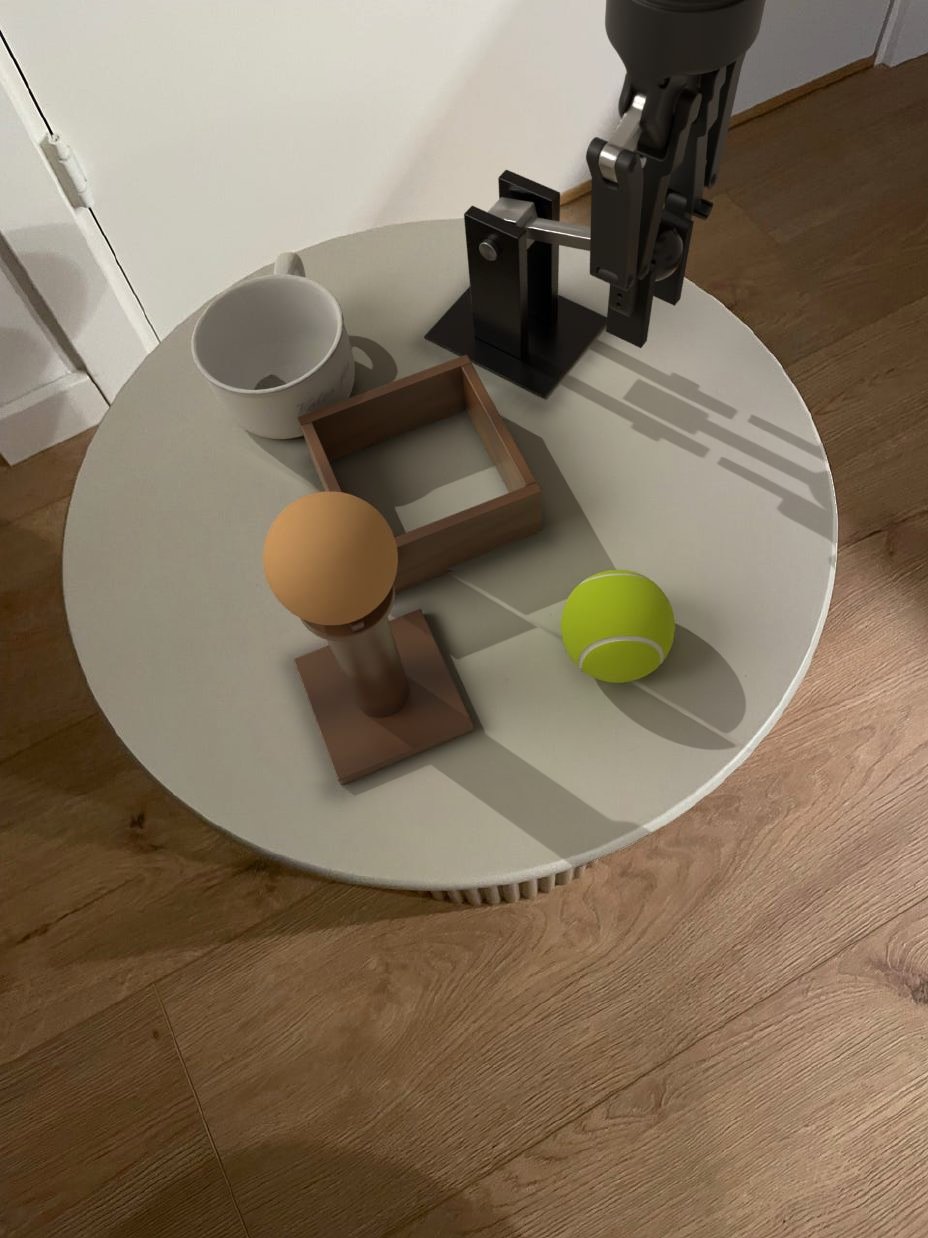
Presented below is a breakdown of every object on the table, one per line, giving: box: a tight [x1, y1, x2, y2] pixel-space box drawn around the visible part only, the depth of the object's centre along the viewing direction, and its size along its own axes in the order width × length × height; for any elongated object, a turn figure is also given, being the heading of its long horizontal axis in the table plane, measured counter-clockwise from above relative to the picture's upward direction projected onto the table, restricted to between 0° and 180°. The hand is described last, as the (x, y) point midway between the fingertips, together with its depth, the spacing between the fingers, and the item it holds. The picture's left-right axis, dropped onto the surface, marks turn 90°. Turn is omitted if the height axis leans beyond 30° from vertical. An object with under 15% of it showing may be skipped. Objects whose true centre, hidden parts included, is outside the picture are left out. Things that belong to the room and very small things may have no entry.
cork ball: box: [262, 491, 398, 625], centre depth 48 cm, size 6×6×6 cm
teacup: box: [190, 251, 356, 440], centre depth 73 cm, size 14×11×8 cm
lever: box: [487, 197, 683, 281], centre depth 64 cm, size 14×4×4 cm, turn 54°
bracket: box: [423, 169, 607, 400], centre depth 72 cm, size 11×9×13 cm
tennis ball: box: [560, 569, 676, 684], centre depth 62 cm, size 7×7×7 cm
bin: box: [297, 355, 543, 595], centre depth 69 cm, size 13×13×6 cm
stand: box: [293, 584, 475, 786], centre depth 58 cm, size 9×9×15 cm
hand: (643, 314), depth 67 cm, fingers closed on lever, 4 cm apart
